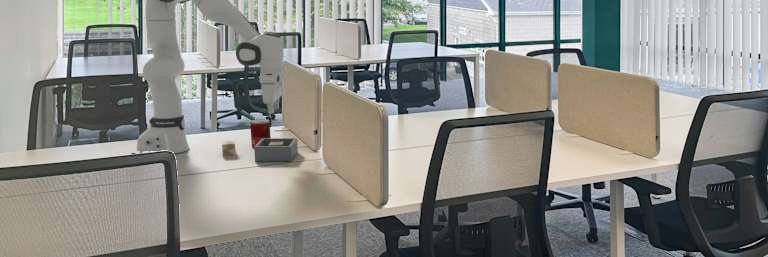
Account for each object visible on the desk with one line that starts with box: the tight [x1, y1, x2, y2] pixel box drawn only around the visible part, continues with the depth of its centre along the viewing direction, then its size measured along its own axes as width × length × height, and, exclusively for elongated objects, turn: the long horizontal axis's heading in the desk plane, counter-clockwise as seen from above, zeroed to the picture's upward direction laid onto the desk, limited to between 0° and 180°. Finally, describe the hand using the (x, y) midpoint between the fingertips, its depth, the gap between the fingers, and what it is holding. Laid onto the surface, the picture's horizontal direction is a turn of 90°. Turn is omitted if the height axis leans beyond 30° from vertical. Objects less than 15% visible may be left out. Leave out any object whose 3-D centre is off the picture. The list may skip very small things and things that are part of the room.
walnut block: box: [268, 142, 284, 146], centre depth 278 cm, size 5×5×5 cm
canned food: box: [250, 118, 271, 149], centre depth 295 cm, size 8×8×11 cm
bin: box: [253, 137, 299, 163], centre depth 278 cm, size 14×14×6 cm
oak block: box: [221, 140, 237, 158], centre depth 284 cm, size 5×5×5 cm
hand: (273, 111), depth 274 cm, fingers open, 8 cm apart
